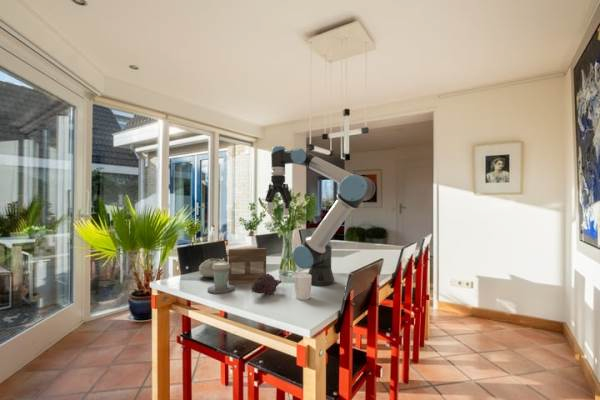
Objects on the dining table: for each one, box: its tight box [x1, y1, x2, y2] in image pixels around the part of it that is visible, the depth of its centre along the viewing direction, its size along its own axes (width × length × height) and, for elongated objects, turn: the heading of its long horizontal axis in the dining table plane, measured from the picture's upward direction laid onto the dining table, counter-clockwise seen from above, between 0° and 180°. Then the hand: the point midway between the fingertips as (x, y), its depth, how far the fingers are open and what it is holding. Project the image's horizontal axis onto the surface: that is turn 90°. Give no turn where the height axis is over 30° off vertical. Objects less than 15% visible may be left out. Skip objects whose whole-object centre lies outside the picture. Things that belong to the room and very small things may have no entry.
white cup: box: [294, 273, 312, 301], centre depth 136 cm, size 8×8×10 cm
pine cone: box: [250, 273, 282, 296], centre depth 139 cm, size 18×10×10 cm, turn 140°
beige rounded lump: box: [198, 258, 227, 279], centre depth 173 cm, size 18×18×10 cm
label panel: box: [228, 247, 267, 285], centre depth 162 cm, size 6×20×18 cm, turn 102°
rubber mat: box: [207, 284, 236, 295], centre depth 147 cm, size 13×13×1 cm
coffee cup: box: [212, 261, 230, 290], centre depth 147 cm, size 8×8×12 cm
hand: (277, 214), depth 162 cm, fingers open, 13 cm apart
